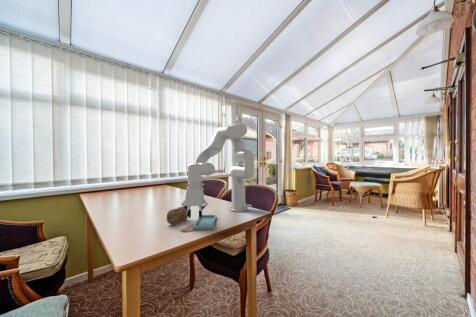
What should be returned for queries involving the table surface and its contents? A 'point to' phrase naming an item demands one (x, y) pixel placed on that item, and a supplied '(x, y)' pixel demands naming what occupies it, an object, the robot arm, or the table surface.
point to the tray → (205, 222)
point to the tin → (177, 215)
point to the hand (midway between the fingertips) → (194, 217)
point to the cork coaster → (186, 229)
